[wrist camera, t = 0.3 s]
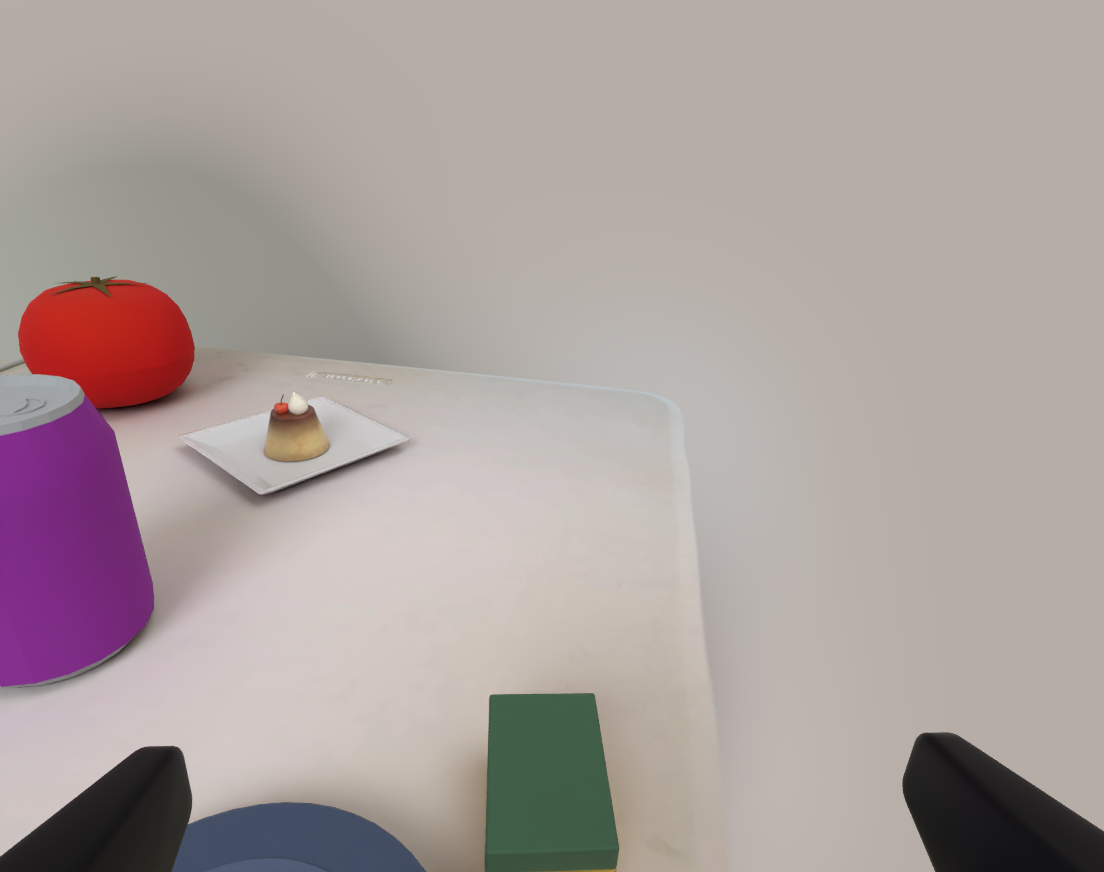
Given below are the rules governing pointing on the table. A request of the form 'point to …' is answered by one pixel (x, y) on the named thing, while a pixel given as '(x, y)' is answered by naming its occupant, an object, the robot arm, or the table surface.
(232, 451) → the dessert
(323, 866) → the plate
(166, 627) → the table surface
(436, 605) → the table surface
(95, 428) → the beverage can
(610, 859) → the sponge
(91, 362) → the tomato
